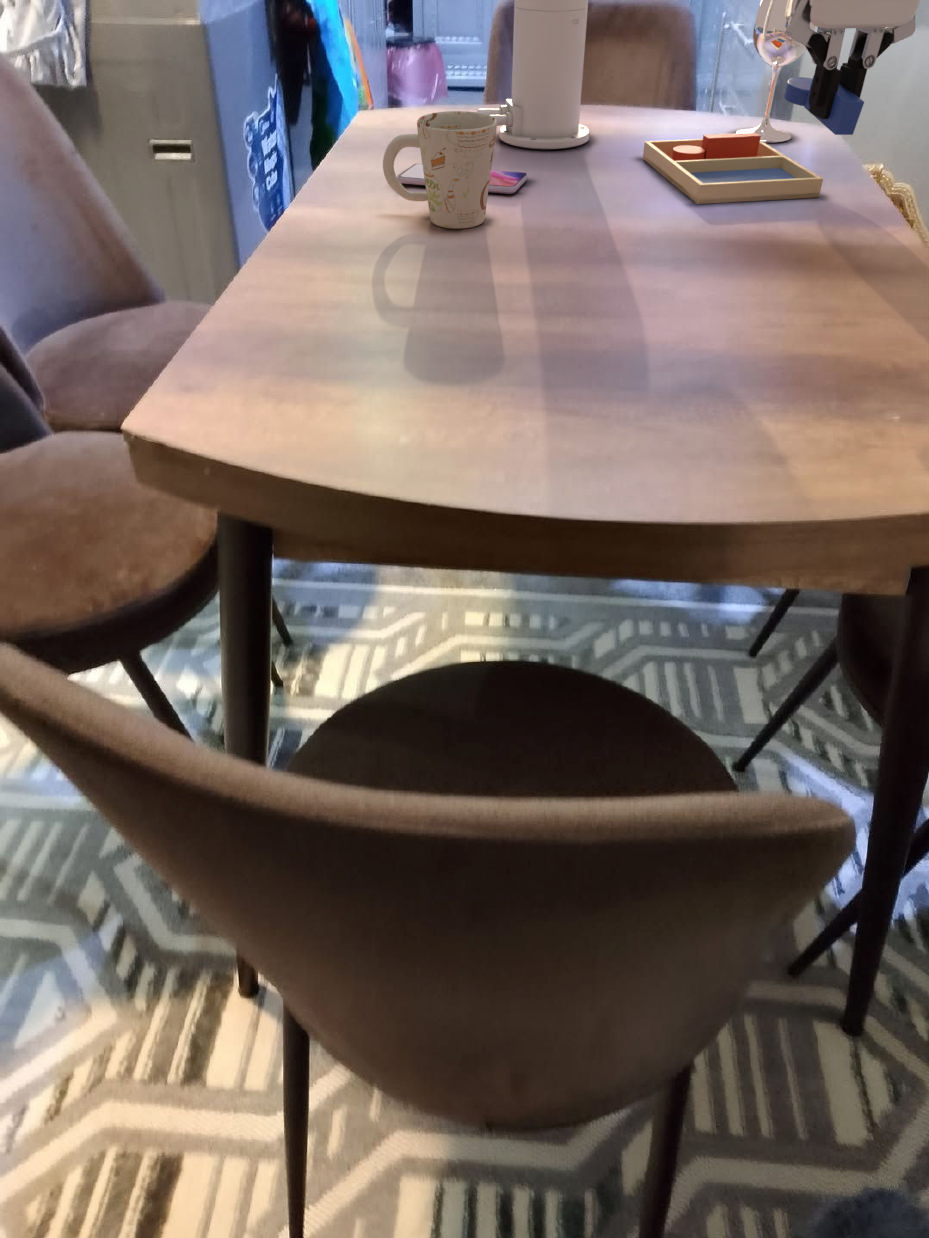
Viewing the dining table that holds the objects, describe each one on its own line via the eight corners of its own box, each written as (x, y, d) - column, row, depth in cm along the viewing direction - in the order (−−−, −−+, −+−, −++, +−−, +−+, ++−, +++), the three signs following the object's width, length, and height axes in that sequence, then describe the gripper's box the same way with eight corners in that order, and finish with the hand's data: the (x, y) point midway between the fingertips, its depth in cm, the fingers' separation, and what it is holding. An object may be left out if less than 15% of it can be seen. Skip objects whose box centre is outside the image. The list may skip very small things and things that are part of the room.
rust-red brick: (747, 154, 119) (751, 130, 117) (759, 162, 116) (764, 138, 114) (667, 158, 118) (670, 134, 116) (677, 166, 115) (681, 142, 113)
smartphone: (414, 162, 115) (529, 172, 112) (415, 170, 116) (529, 180, 113) (394, 177, 110) (514, 187, 107) (395, 184, 111) (514, 195, 107)
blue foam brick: (863, 135, 84) (875, 102, 82) (823, 135, 83) (835, 101, 81) (814, 92, 91) (823, 61, 89) (776, 92, 90) (785, 61, 88)
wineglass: (757, 146, 125) (792, -32, 112) (723, 133, 131) (752, -38, 117) (803, 140, 127) (842, -35, 114) (768, 127, 133) (801, -41, 120)
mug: (487, 235, 97) (489, 132, 91) (374, 227, 99) (368, 126, 93) (500, 211, 104) (503, 113, 97) (394, 204, 105) (389, 107, 99)
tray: (697, 204, 106) (700, 185, 104) (642, 158, 120) (644, 141, 119) (819, 197, 108) (823, 178, 106) (750, 153, 122) (753, 136, 121)
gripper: (953, -140, 77) (886, 103, 89) (780, -140, 75) (735, 109, 87) (1007, -138, 72) (928, 122, 84) (822, -137, 70) (768, 129, 82)
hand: (830, 114), depth 85 cm, fingers closed on blue foam brick
